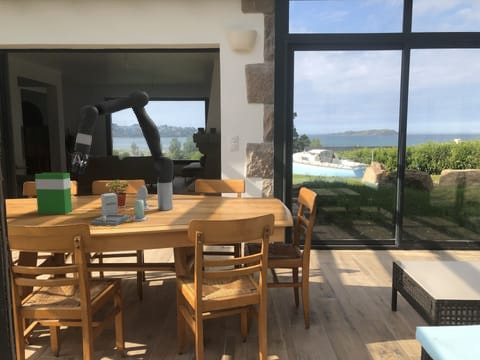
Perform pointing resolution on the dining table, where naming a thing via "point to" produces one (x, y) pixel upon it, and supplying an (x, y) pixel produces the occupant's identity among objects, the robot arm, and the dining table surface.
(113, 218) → the locating board
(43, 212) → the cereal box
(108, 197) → the supplement box
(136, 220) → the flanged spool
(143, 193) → the chess piece
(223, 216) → the dining table surface
